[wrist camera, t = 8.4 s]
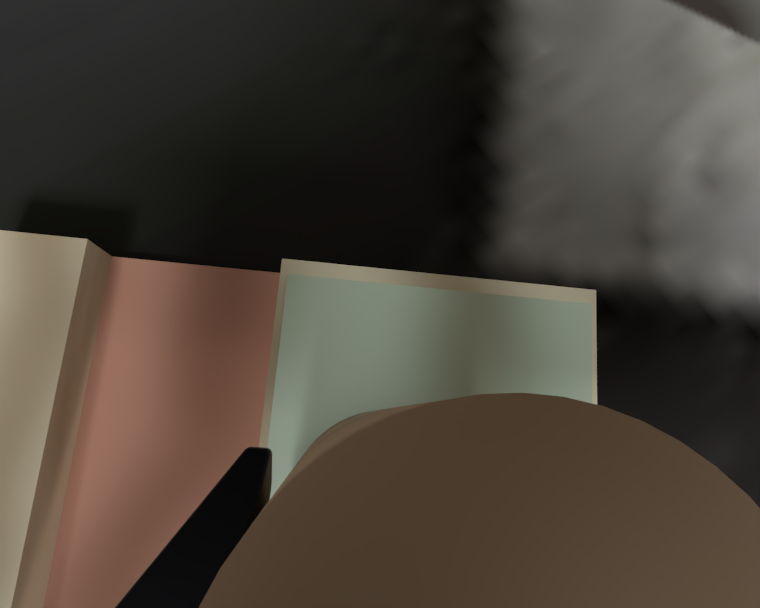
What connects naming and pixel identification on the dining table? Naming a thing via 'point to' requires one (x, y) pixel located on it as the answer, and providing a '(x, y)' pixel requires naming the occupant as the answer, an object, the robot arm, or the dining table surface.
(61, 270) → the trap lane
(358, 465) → the walnut cylinder
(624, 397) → the dining table surface
